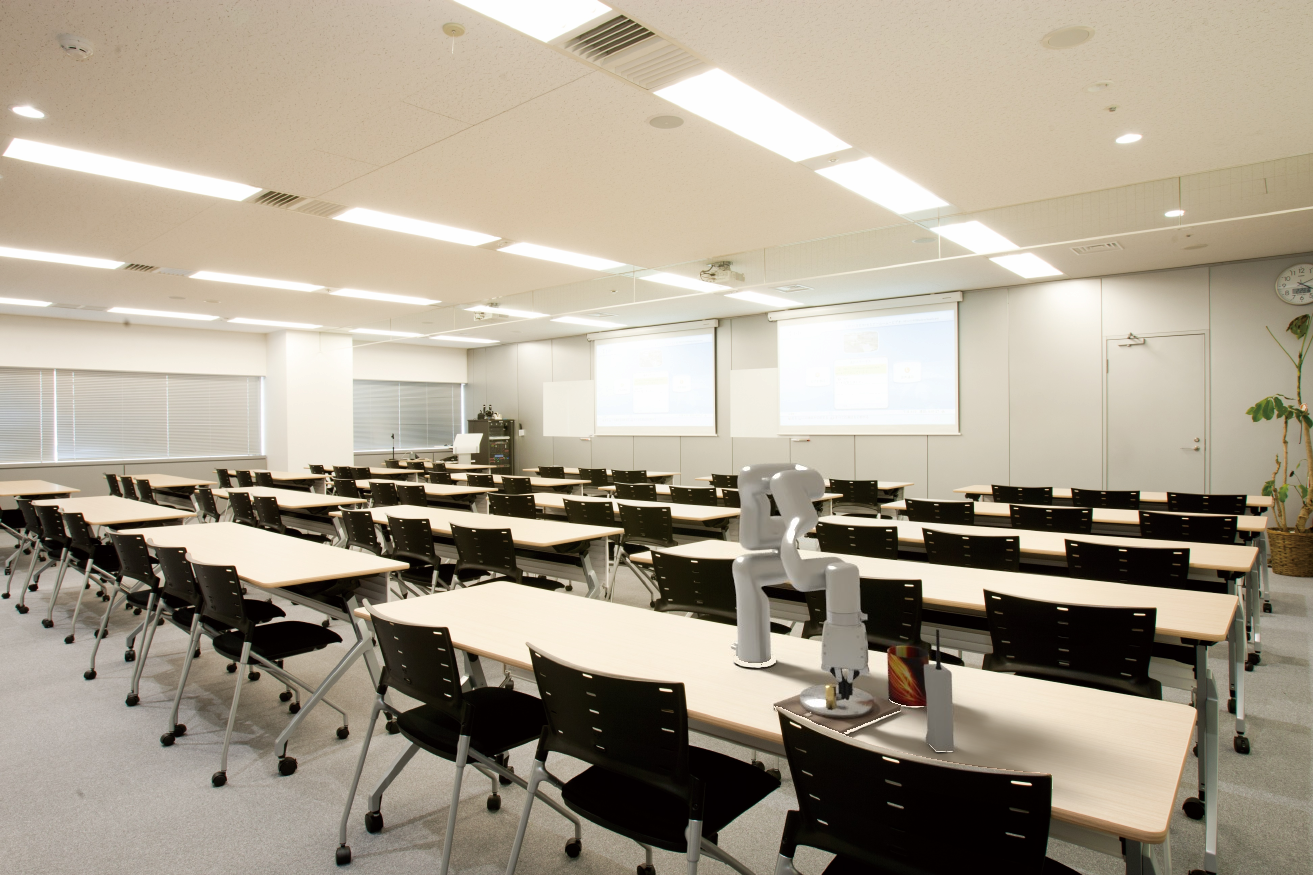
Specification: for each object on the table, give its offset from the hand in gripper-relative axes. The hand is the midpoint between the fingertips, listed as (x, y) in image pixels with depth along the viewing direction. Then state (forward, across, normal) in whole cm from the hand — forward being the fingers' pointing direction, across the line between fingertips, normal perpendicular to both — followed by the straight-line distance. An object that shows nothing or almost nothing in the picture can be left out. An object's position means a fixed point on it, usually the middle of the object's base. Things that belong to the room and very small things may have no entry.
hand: (845, 697), depth 156 cm
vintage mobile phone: (+6, -20, +7) cm, 22 cm away
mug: (+6, -15, -17) cm, 23 cm away
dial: (+4, +3, -6) cm, 8 cm away
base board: (+6, +3, -6) cm, 9 cm away
